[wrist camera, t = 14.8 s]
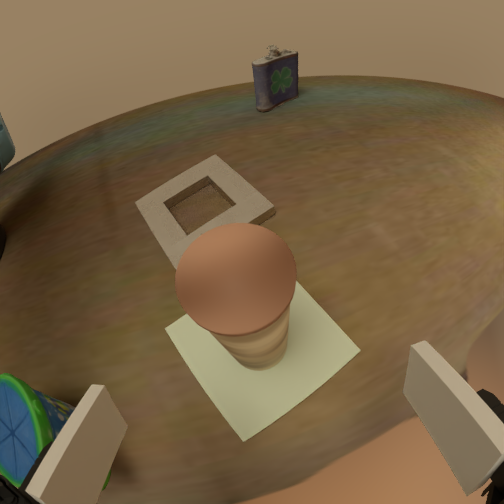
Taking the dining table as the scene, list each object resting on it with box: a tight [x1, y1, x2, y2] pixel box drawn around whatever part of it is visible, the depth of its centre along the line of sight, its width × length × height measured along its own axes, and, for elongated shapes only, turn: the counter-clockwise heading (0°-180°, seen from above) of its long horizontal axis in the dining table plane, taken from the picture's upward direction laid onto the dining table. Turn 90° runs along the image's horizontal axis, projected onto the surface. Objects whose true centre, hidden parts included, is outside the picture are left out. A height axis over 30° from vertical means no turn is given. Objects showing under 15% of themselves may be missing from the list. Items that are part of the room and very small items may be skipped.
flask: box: [252, 45, 298, 113], centre depth 41 cm, size 10×3×12 cm, turn 132°
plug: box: [175, 223, 297, 371], centre depth 18 cm, size 5×5×14 cm
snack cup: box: [0, 373, 111, 491], centre depth 16 cm, size 16×10×10 cm
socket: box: [135, 155, 275, 270], centre depth 33 cm, size 13×13×2 cm
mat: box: [165, 281, 361, 442], centre depth 24 cm, size 13×13×1 cm
